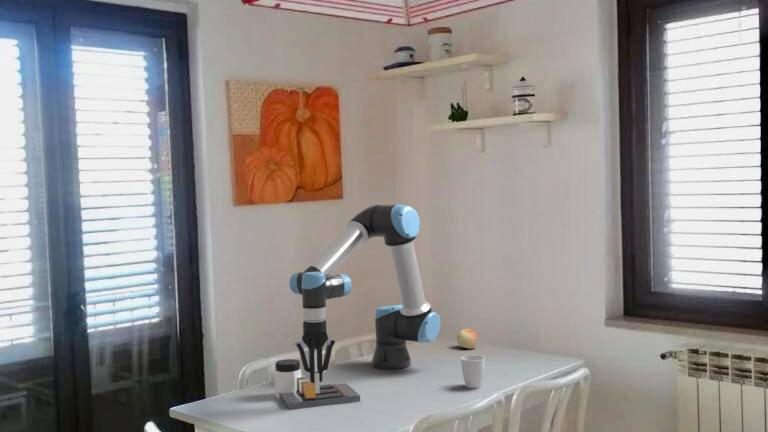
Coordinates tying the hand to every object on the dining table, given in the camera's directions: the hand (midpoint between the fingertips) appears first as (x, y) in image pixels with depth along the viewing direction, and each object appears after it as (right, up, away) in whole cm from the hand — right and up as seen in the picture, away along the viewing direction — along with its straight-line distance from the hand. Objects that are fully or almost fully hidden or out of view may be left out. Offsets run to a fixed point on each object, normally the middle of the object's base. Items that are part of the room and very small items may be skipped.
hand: (316, 392), depth 264 cm
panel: (0, -4, +7) cm, 7 cm away
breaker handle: (-2, -1, -1) cm, 3 cm away
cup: (+53, -2, +18) cm, 56 cm away
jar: (-10, -4, +11) cm, 16 cm away
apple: (+57, +1, +80) cm, 98 cm away
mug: (-2, -3, +30) cm, 30 cm away
